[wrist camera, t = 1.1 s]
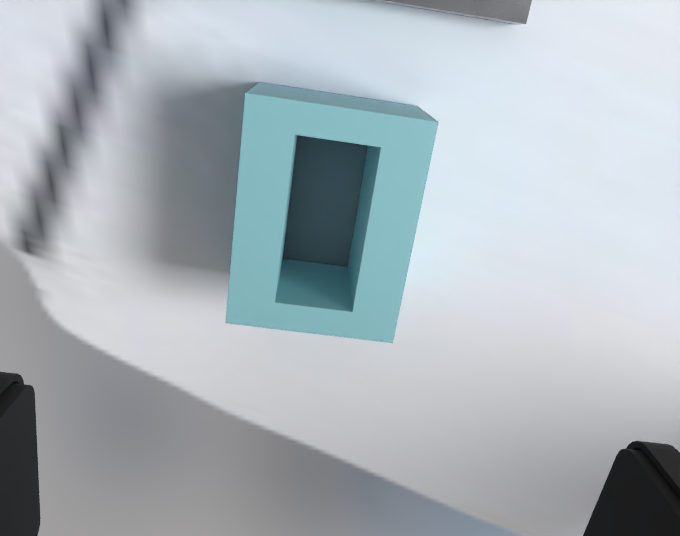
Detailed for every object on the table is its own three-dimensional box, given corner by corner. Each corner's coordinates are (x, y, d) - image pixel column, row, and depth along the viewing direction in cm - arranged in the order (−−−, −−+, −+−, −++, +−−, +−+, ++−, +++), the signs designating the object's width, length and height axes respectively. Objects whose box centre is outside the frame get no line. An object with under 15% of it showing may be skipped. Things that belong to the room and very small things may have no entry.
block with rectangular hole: (259, 82, 25) (245, 92, 20) (417, 106, 26) (438, 121, 21) (241, 276, 28) (225, 322, 24) (381, 293, 29) (392, 342, 24)
